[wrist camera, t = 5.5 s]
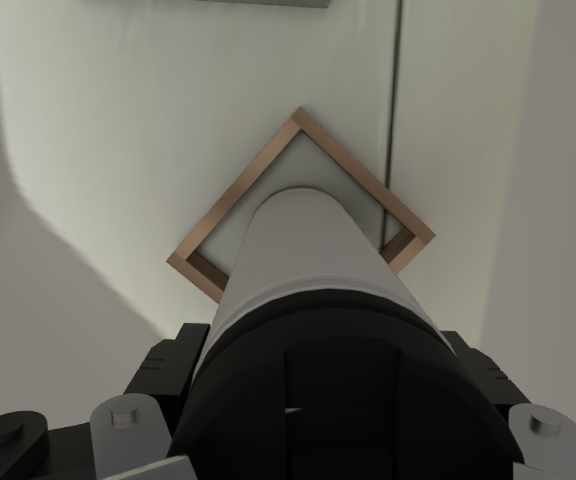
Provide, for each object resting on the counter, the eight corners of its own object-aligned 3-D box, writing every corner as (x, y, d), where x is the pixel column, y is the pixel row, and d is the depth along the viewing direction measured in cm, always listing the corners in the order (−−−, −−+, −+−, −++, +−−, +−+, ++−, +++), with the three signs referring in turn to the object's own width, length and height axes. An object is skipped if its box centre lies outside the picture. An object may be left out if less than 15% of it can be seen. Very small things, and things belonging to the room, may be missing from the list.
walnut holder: (298, 108, 25) (300, 106, 23) (422, 225, 27) (436, 235, 25) (176, 250, 27) (165, 261, 25) (298, 350, 29) (300, 370, 27)
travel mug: (250, 293, 27) (158, 730, 7) (246, 186, 25) (111, 378, 6) (351, 291, 27) (532, 722, 7) (353, 184, 25) (595, 369, 6)
